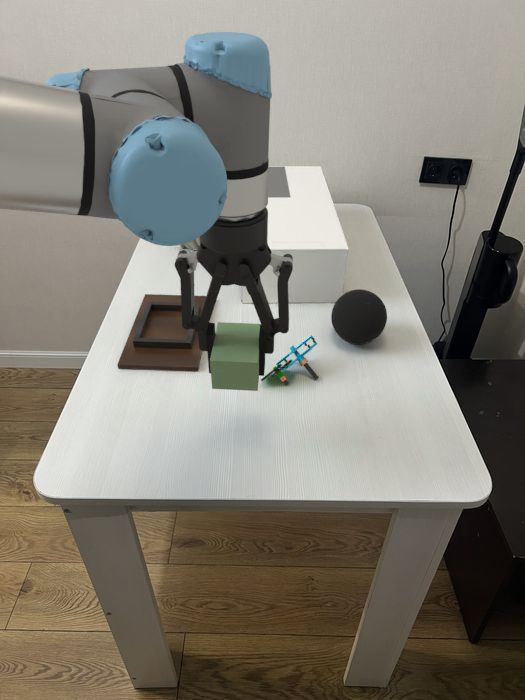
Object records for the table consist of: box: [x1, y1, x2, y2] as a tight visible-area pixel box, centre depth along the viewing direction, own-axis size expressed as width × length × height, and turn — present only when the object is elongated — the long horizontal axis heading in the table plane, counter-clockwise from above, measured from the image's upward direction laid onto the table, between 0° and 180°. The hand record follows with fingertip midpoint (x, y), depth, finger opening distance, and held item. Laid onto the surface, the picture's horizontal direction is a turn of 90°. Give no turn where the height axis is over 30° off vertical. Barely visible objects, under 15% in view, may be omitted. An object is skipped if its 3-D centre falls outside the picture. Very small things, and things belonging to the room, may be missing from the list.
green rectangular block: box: [210, 321, 261, 392], centre depth 65 cm, size 8×6×5 cm
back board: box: [117, 293, 207, 372], centre depth 93 cm, size 22×14×2 cm, turn 178°
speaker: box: [330, 289, 388, 345], centre depth 89 cm, size 10×10×10 cm
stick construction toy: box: [260, 335, 319, 386], centre depth 83 cm, size 12×7×8 cm
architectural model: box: [240, 165, 350, 304], centre depth 115 cm, size 45×21×12 cm, turn 2°
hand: (237, 367), depth 67 cm, fingers closed on green rectangular block, 6 cm apart
